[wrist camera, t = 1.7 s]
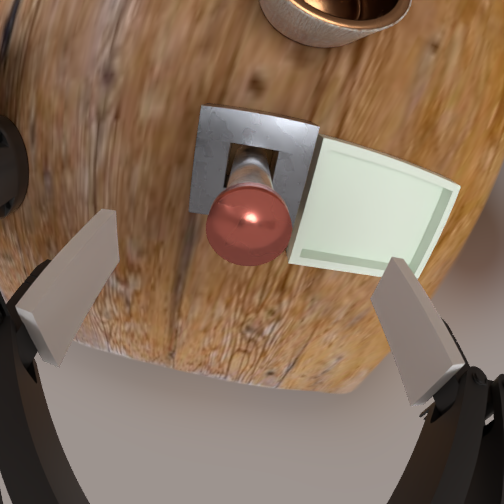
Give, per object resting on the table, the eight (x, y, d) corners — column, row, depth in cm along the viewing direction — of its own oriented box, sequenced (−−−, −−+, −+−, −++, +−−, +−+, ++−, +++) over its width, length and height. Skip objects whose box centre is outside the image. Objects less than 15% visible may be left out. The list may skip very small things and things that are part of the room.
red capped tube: (225, 175, 28) (202, 259, 15) (232, 133, 26) (211, 183, 13) (268, 182, 29) (280, 271, 16) (276, 141, 26) (301, 199, 14)
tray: (286, 250, 33) (288, 263, 31) (317, 133, 26) (323, 137, 24) (408, 270, 35) (416, 281, 33) (449, 178, 27) (460, 186, 25)
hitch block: (196, 196, 29) (188, 211, 26) (208, 103, 24) (201, 105, 21) (288, 211, 30) (292, 228, 27) (310, 121, 25) (319, 126, 22)
